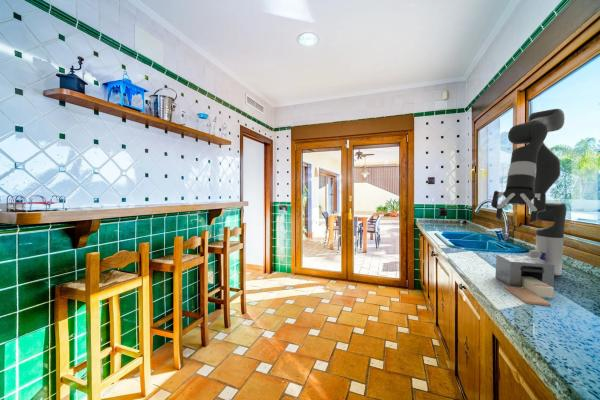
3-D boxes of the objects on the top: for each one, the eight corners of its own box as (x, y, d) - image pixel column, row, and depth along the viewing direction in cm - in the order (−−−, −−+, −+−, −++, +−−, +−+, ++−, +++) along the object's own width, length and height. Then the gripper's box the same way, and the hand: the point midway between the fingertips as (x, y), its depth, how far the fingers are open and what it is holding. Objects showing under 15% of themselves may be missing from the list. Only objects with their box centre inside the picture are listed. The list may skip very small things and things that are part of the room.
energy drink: (548, 280, 110) (549, 252, 110) (533, 279, 111) (535, 252, 111) (539, 276, 116) (540, 250, 115) (525, 275, 117) (526, 249, 116)
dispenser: (495, 276, 114) (496, 254, 114) (534, 280, 110) (535, 256, 110) (510, 287, 102) (511, 262, 101) (554, 291, 98) (555, 265, 98)
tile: (505, 288, 101) (505, 286, 101) (526, 290, 99) (526, 288, 99) (525, 303, 88) (525, 300, 88) (550, 305, 86) (550, 303, 86)
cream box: (517, 285, 105) (518, 275, 105) (532, 286, 104) (532, 276, 104) (536, 297, 94) (537, 286, 93) (553, 298, 92) (553, 287, 92)
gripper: (549, 180, 88) (544, 226, 86) (498, 179, 98) (491, 221, 96) (548, 173, 83) (542, 222, 81) (494, 173, 93) (487, 216, 91)
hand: (514, 221), depth 88 cm, fingers open, 8 cm apart
